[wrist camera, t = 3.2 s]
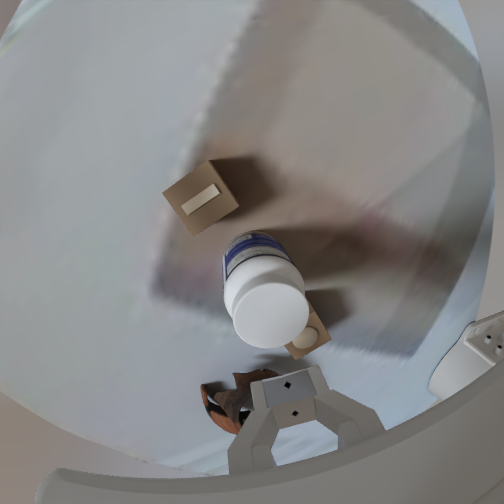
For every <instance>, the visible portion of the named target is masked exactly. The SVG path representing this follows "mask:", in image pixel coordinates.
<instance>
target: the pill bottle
mask: <svg viewBox="0 0 504 504" xmlns="http://www.w3.org/2000/svg"><path fill="white" fill-rule="evenodd" d="M222 270H223V293H224V302H225V306H226V308H227V311H228V312H229V314H230V316H231V317H232V318H233V323H234V327H235V330H236V332H237V334H238V335H239V336H240V337H241V338H242V339H243V340H244V341H245V342H246V343H248V344H250V345H252V346H255V347H259V348H276V347H280V346H283V345H285V344H288V343H289V342H291V341H293V340H294V339H295V338H297V337H298V336H299V335H300V334H301V332H302V331H303V330H304V328H305V327H306V324H307V322H308V318H309V305H308V302H307V299H306V297H305V285H304V281H303V278H302V276H301V274H300V272H299V271H298V269H297V268H296V266H295V265H294V263H293V262H292V260H291V259H290V257H289V256H288V254H287V253H286V251H285V250H284V248H283V247H282V245H281V244H280V243H279V242H278V241H277V240H276V239H275V238H274V237H272V236H271V235H269V234H267V233H263V232H257V231H253V232H247V233H244V234H241V235H239V236H237V237H236V238H235V239H233V240H232V241H231V242H230V244H229V245H228V246H227V248H226V250H225V252H224V255H223V262H222Z"/></svg>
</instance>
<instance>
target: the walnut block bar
mask: <svg viewBox="0 0 504 504" xmlns="http://www.w3.org/2000/svg"><path fill="white" fill-rule="evenodd" d="M163 195H164V196H165V198H166V199H167V200H168V202H169V203H170V205H171V206H172V207H173V209H174V210H175V212H176V213H177V214H178V216H179V217H180V219H181V220H182V221H183V223H184V224H185V225H186V227H187V228H188V230H189V231H190V232H191V234H192V235H193V236H196V235H197V234H199V233H200V232H202V231H203V230H205V229H206V228H208V227H209V226H211V225H212V224H213V223H215V222H216V221H218V220H219V219H221V218H222V217H224V216H225V215H227V214H228V213H230V212H231V211H233V210H235V209H236V208H238V207H239V204H238V201H237V198H236V197H235V195H234V194H233V193H232V191H231V190H230V188H229V187H228V185H227V184H226V182H225V181H224V179H223V178H222V176H221V175H220V173H219V172H218V170H217V169H216V167H215V166H214V164H213V163H212V162H211V160H208V161H206V162H205V163H203V164H202V165H201V166H199V167H198V168H196V169H195V170H193V171H192V172H190V173H189V174H188V175H186V176H185V177H183V178H182V179H181V180H179V181H178V182H176V183H175V184H174V185H172V186H171V187H170V188H168V189H167V190H165V191H164V192H163Z"/></svg>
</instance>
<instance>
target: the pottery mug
mask: <svg viewBox="0 0 504 504" xmlns="http://www.w3.org/2000/svg"><path fill="white" fill-rule="evenodd" d="M233 375H234V378H235V382H236V386H237V391H234V390H227V391H223V392H217V393H216V394H215V396H214V399H215V400H216V401H217V402H218V403H219V404H220V405H216V404H214V403H212V402H210V401H209V400H208V398H207V391H206V390H205V386H204V385H203V384H202V385H201V394H202V398H203V403H204V405H205V408H206V411H207V413H208V414H209V416H210V417H211V418H212V420H213V421H214V422H215V423H216V424H217V425H218V426H219V427H221V428H222V429H223V430H225V431H227V432H229V433H233V434H238V433H239V431H240V429H241V428H242V426H243V424H244V423H245V421H246V419H247V418H248V416H249V414H250V413H251V411H250V410H248V411H240V410H241V407H242V405H243V404H244V402H245V400H246V399H247V398H248V397H249V396H250V395H252V392H251V386H250V384H251V382H256V381H260V380H264V379H269V378H273V377H278V376H280V375H279V374H278V373H276V372H274V371H272V370H268V369H263V370H260V369H259V370H254V371H252V372H249V373H233Z"/></svg>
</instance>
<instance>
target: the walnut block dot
mask: <svg viewBox="0 0 504 504" xmlns="http://www.w3.org/2000/svg"><path fill="white" fill-rule="evenodd" d="M305 297H306V299H307V302H308V305H309V318H308V322H307V324H306V327H305V328H304V330H303V331H302V332H301V334H300V335H299V336H298V337H297V338H295V339H294V340H293V341H291V342H289V343H288V344H285V345H284V346H285V347H286V349H287V350H288V351H289V353H290V354H291V355H292V356H293V358H294V359H295V360H297V359H299V358H301V357H302V356H304V355H306V354H308V353H309V352H311V351H313V350H315V349H316V348H318V347H320V346H321V345H323V344H325V343H326V342H328V341H330V340H331V337H330V335H329V333H328V332H327V330H326V328H325V326H324V324H323V323H322V321H321V319H320V317H319V316H318V314H317V313H316V311H315V309H314V308H313V306H312V304H311V303H310V301H309V300H308V298H307V296H306V295H305Z"/></svg>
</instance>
